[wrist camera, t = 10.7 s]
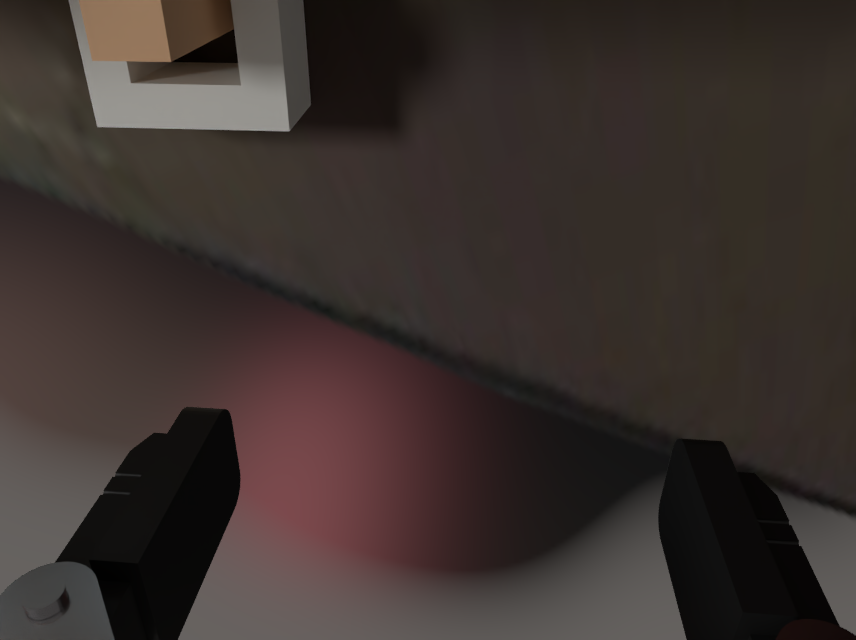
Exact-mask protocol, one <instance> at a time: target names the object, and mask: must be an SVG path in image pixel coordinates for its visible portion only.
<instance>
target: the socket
mask: <svg viewBox="0 0 856 640" xmlns="http://www.w3.org/2000/svg"><path fill="white" fill-rule="evenodd" d="M69 5H70V9H71V13H72V18H73V22H74V27H75V31H76V35H77V40H78V44H79V48H80V53H81V57H82V62H83V66H84V70H85V75H86V79H87V84H88V88H89V92H90V97H91V101H92V106H93V110H94V114H95V119H96V123H97V127H122V128H165V129H208V130H251V131H290V130H291V129H292V128H293V127H294V125H295V124H296V123H297V122H298V120H299V119H300V118H301V117H302V115H303V114H304V113H305V112H306V110H307V109H308V108H309V107H310V106H311V97H310V83H309V70H308V56H307V43H306V30H305V16H304V3H303V0H231V8H232V16H233V24H234V32H235V40H236V49H237V57H238V63H201V62H137V61H92V58H91V53H90V49H89V44H88V40H87V35H86V31H85V26H84V22H83V17H82V13H81V8H80V4H79V0H69Z"/></svg>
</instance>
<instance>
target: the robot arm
mask: <svg viewBox="0 0 856 640" xmlns="http://www.w3.org/2000/svg"><path fill="white" fill-rule="evenodd" d="M239 490H240V469H239V462H238V456H237V450H236V444H235V438H234V431H233V425H232V419H231V416H230V413H229V411H228V410H226V409H213V408H197V407H186V408H184V409H183V410H182V411H181V412H180V414H179V416H178V417H177V419H176V420H175V422H174V424H173V425H172V427H171V429H170V430H169V432H168V433H167V434H164V433H153V434H152V435H150V436H149V437H148V438H147V439H145V440H144V441H143V442H141V443H140V444H139V445H137V446H136V447H135V448H133V449H132V450H131V451H130V452H129V453H128V455H127V456H126V458H125V459H124V461H123V462H122V464H121V465H120V467H119V468H118V470H117V472H116V475H115V477H112V479H111V480H110V482H109V483H108V485H107V486H106V488H105V489H104V494H103V495H100V496H99V498H98V500H97V501H96V503H95V504H94V506H93V507H92V508H91V510H90V511H89V513H88V514H87V516H86V517H85V519H84V521H83V522H82V523H81V525H80V526H79V528H78V529H77V531H76V532H75V534H74V535H73V537H72V538H71V540H70V541H69V543H68V544H67V546H66V547H65V549H64V550H63V552H62V553H61V554H60V556H59V558H58V559H57V561H56V562H55V563H51V564H47V565H44V566H41V567H38V568H36V569H34V570H31V571H29V572H28V573H26V574H24V575H22V576H21V577H20V578H18V579H17V580H15V581H14V582H13V583H12V584H11V585H10V586H8V587H7V588H6V589H5V591H4V592H3V593H2V594H1V595H0V640H178V638H179V636H180V633H181V631H182V628H183V626H184V624H185V622H186V619H187V617H188V615H189V613H190V610H191V608H192V606H193V603H194V601H195V599H196V596H197V594H198V592H199V589H200V587H201V585H202V583H203V580H204V578H205V576H206V573H207V571H208V569H209V567H210V564H211V562H212V560H213V557H214V555H215V553H216V550H217V548H218V546H219V544H220V541H221V539H222V536H223V534H224V532H225V530H226V527H227V525H228V523H229V521H230V518H231V516H232V514H233V511H234V509H235V506H236V504H237V500H238V496H239ZM658 522H659V532H660V539H661V543H662V547H663V551H664V554H665V558H666V562H667V566H668V570H669V574H670V578H671V581H672V585H673V589H674V593H675V597H676V601H677V604H678V608H679V612H680V616H681V620H682V624H683V628H684V631H685V635H686V639H687V640H856V635H854V634H853V633H851V632H849V631H847V630H846V629H844V628H842V627H840V626H839V624H838V622H837V620H836V618H835V616H834V614H833V612H832V610H831V607H830V605H829V603H828V601H827V599H826V597H825V595H824V593H823V591H822V589H821V587H820V584H819V582H818V580H817V578H816V576H815V574H814V572H813V570H812V568H811V566H810V564H809V561H808V559H807V557H806V555H805V553H804V551H803V549H802V547H801V546H799V544H798V543H799V540H798V538H797V536H796V534H795V532H794V530H793V528H792V526H791V525H789V519H788V517H787V515H786V513H785V511H784V509H783V507H782V505H781V503H780V501H779V499H778V496H777V495H776V494H775V493H774V492H773V491H772V490H771V489H770V488H769V487H768V486H767V485H766V484H765V483H764V482H763V481H762V480H761V479H760V478H759V477H758V476H757V475H756V474H755V473H746V472H737V471H736V468H735V466H734V464H733V461H732V459H731V457H730V454H729V452H728V450H727V447H726V445H725V444H724V443H723V442H721V441H709V440H693V439H677V440H676V441H675V443H674V445H673V449H672V453H671V457H670V461H669V466H668V470H667V474H666V478H665V482H664V486H663V491H662V495H661V499H660V504H659V515H658Z"/></svg>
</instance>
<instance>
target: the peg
mask: <svg viewBox="0 0 856 640" xmlns="http://www.w3.org/2000/svg"><path fill="white" fill-rule="evenodd" d="M79 4H80V8H81V13H82V17H83V22H84V26H85V31H86V35H87V40H88V44H89V49H90V53H91V58H92V61H137V62H172V61H174V60H176V59H178V58H180V57H182V56H184V55H186V54H187V53H189V52H191V51H193V50H195V49H197V48H199V47H201V46H203V45H205V44H206V43H208V42H210V41H212V40H214V39H216V38H218V37H220V36H222V35H224V34H225V33H227V32H229V31H231V30H233V29H234V24H233V16H232V8H231V0H79Z"/></svg>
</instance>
